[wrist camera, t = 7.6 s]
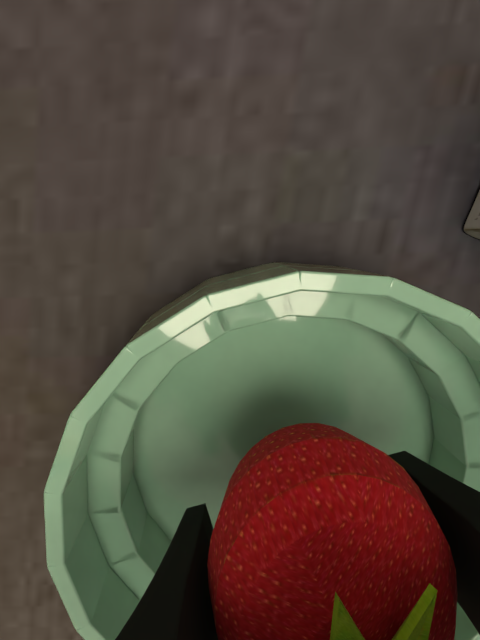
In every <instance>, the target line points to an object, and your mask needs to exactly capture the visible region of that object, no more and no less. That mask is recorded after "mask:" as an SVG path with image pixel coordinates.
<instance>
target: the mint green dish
mask: <svg viewBox="0 0 480 640" xmlns="http://www.w3.org/2000/svg"><path fill="white" fill-rule="evenodd" d="M299 423H321V424H325V425H329V426H334V427H337V428H339V429H341V430H343V431H345V432H347V433H349V434H351V435H353V436H355V437H357V438H358V439H360V440H362V441H364V442H366V443H368V444H370V445H371V446H373V447H375V448H377V449H379V450H381V451H383V452H384V453H386V454H387V455H390V454H394V453H398V452H401V451H407V452H408V453H410V454H412V455H414V456H415V457H417V458H419V459H421V460H422V461H424V462H426V463H428V464H429V465H431V466H433V467H435V468H436V469H438V470H440V471H442V472H443V473H445V474H447V475H449V476H451V477H452V478H454V479H456V480H458V481H460V482H462V483H464V484H466V485H467V486H469V487H471V488H473V489H475V490H477V491H479V492H480V319H479V318H478V317H477V316H476V315H475V314H474V313H473V312H471V311H470V310H469V309H466V308H464V307H462V306H459V305H457V304H455V303H452V302H450V301H448V300H445V299H443V298H441V297H438V296H436V295H434V294H431V293H429V292H427V291H424V290H422V289H420V288H417V287H415V286H413V285H410V284H408V283H406V282H403V281H401V280H399V279H396V278H394V277H390V276H384V275H379V274H374V273H369V272H364V271H359V270H354V269H349V268H344V267H339V266H326V265H312V264H298V263H283V262H275V263H274V262H272V263H268V264H264V265H260V266H256V267H252V268H248V269H245V270H241V271H237V272H233V273H229V274H225V275H221V276H217V277H213V278H210V279H208V280H206V281H204V282H203V283H201V284H199V285H198V286H196V287H195V288H193V289H192V290H190V291H188V292H187V293H185V294H184V295H182V296H181V297H179V298H177V299H176V300H174V301H173V302H171V303H170V304H168V305H166V306H165V307H163V308H162V309H160V310H159V311H157V312H155V313H154V314H153V315H152V316H150V318H149V319H148V320H147V321H146V322H145V323H144V325H143V326H142V327H141V328H140V329H139V330H138V332H137V333H136V334H135V335H134V336H133V337H132V339H131V340H130V341H129V342H128V343H127V344H126V345H125V347H124V348H123V349H122V350H121V352H120V353H119V354H118V355H117V356H116V358H115V359H114V360H113V361H112V363H111V364H110V365H109V366H108V368H107V369H106V370H105V371H104V373H103V374H102V375H101V376H100V378H99V379H98V380H97V381H96V382H95V384H94V385H93V386H92V387H91V389H90V390H89V391H88V392H87V394H86V395H85V396H84V397H83V399H82V400H81V401H80V402H79V404H78V405H77V406H76V407H75V408H74V410H73V411H72V412H71V415H70V416H69V418H68V421H67V424H66V427H65V430H64V433H63V436H62V438H61V441H60V444H59V447H58V450H57V453H56V456H55V459H54V462H53V465H52V468H51V471H50V474H49V477H48V480H47V483H46V486H45V488H44V514H45V536H46V557H47V566H48V570H49V572H50V575H51V577H52V579H53V581H54V584H55V586H56V588H57V590H58V592H59V595H60V597H61V599H62V601H63V604H64V606H65V608H66V610H67V612H68V615H69V617H70V619H71V621H72V624H73V626H74V628H75V629H76V630H77V632H78V633H79V634H80V636H81V637H82V638H83V639H84V640H115V639H116V637H117V636H118V635H119V633H120V632H121V630H122V629H123V627H124V625H125V624H126V622H127V621H128V619H129V618H130V616H131V615H132V613H133V611H134V610H135V608H136V607H137V605H138V603H139V602H140V600H141V598H142V596H143V595H144V593H145V591H146V589H147V587H148V586H149V584H150V582H151V580H152V579H153V577H154V575H155V573H156V571H157V569H158V567H159V565H160V563H161V561H162V559H163V557H164V555H165V553H166V551H167V549H168V547H169V545H170V543H171V541H172V539H173V537H174V535H175V532H176V530H177V528H178V526H179V524H180V521H181V519H182V517H183V514H184V512H185V511H186V509H187V508H189V507H193V506H197V505H200V504H204V503H206V507H207V510H208V513H209V516H210V519H211V523H212V526H213V529H214V526H215V523H216V520H217V517H218V514H219V511H220V508H221V505H222V502H223V499H224V496H225V493H226V490H227V487H228V484H229V480H230V478H231V476H232V475H233V473H234V471H235V469H236V467H237V465H238V464H239V462H240V461H241V460H242V458H243V457H244V456H245V455H246V454H247V452H248V451H249V450H250V449H251V448H252V447H253V446H254V445H255V444H257V443H258V442H259V441H260V440H262V439H263V438H264V437H265V436H267V435H269V434H271V433H273V432H275V431H277V430H279V429H281V428H283V427H287V426H291V425H295V424H299ZM454 640H480V635H479V633H478V631H477V630H476V628H475V627H474V625H473V624H472V622H471V621H470V619H469V618H468V616H467V615H466V613H465V612H464V611H463V609H462V608H461V606H460V605H459V604H458V602H457V612H456V628H455V636H454Z"/></svg>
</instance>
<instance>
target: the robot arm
mask: <svg viewBox="0 0 480 640" xmlns="http://www.w3.org/2000/svg"><path fill="white" fill-rule="evenodd" d="M388 456H390V457H391V458H392V459H393V460H395V461H396V462H397V463H398V464H399V465H401V466H402V467H403V468H404V469H405V470H406V472H407V473H408V474H409V475H410V477H411V478H412V479H413V480H414V482H415V483H416V484H417V485H418V487H419V489H420V491H421V493H422V494H423V496H424V498H425V500H426V502H427V504H428V505H429V507H430V509H431V511H432V513H433V515H434V516H435V518H436V520H437V522H438V524H439V526H440V528H441V530H442V532H443V534H444V536H445V538H446V540H447V542H448V544H449V546H450V549H451V553H452V557H453V561H454V565H455V568H456V580H457V602H458V604H459V605H460V606H461V608H462V609H463V611H464V612H465V613H466V615H467V616H468V618H469V619H470V621H471V622H472V624H473V625H474V627H475V628H476V630H477V631H478V633H479V635H480V492H479V491H477V490H475V489H473V488H471V487H469V486H467V485H466V484H464V483H462V482H460V481H458V480H456V479H454V478H452V477H451V476H449V475H447V474H445V473H443V472H442V471H440V470H438V469H436V468H435V467H433V466H431V465H429V464H428V463H426V462H424V461H422V460H421V459H419V458H417V457H415V456H414V455H412V454H410V453H408V452H407V451H401V452H398V453H394V454H390V455H388ZM212 532H213V526H212V523H211V519H210V516H209V513H208V510H207V507H206V503H204V504H200V505H197V506H193V507H189V508H187V509H186V511H185V512H184V514H183V517H182V519H181V521H180V524H179V526H178V528H177V530H176V532H175V535H174V537H173V539H172V541H171V543H170V545H169V547H168V549H167V551H166V553H165V555H164V557H163V559H162V561H161V563H160V565H159V567H158V569H157V571H156V573H155V575H154V577H153V579H152V580H151V582H150V584H149V586H148V587H147V589H146V591H145V593H144V595H143V596H142V598H141V600H140V602H139V603H138V605H137V607H136V608H135V610H134V611H133V613H132V615H131V616H130V618H129V619H128V621H127V622H126V624H125V625H124V627H123V629H122V630H121V632H120V633H119V635H118V636H117V637H116V639H115V640H218V636H217V632H216V627H215V621H214V615H213V610H212V604H211V598H210V592H209V584H208V566H207V562H208V554H209V547H210V539H211V536H212Z"/></svg>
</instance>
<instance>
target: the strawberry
mask: <svg viewBox="0 0 480 640" xmlns="http://www.w3.org/2000/svg"><path fill="white" fill-rule="evenodd" d="M207 566H208V584H209V592H210V598H211V604H212V610H213V615H214V621H215V627H216V632H217V636H218V640H454V636H455V628H456V612H457V580H456V568H455V565H454V561H453V557H452V553H451V549H450V546H449V544H448V542H447V540H446V538H445V536H444V534H443V532H442V530H441V528H440V526H439V524H438V522H437V520H436V518H435V516H434V515H433V513H432V511H431V509H430V507H429V505H428V504H427V502H426V500H425V498H424V496H423V494H422V493H421V491H420V489H419V487H418V485H417V484H416V483H415V482H414V480H413V479H412V478H411V477H410V475H409V474H408V473H407V472H406V470H405V469H404V468H403V467H402V466H401V465H399V464H398V463H397V462H396V461H395V460H393V459H392V458H391V457H390V456H388V455H387V454H386V453H384V452H383V451H381V450H379V449H377V448H375V447H373V446H371V445H370V444H368V443H366V442H364V441H362V440H360V439H358V438H357V437H355V436H353V435H351V434H349V433H347V432H345V431H343V430H341V429H339V428H337V427H334V426H329V425H325V424H321V423H299V424H295V425H291V426H287V427H283V428H281V429H279V430H277V431H275V432H273V433H271V434H269V435H267V436H265V437H264V438H263V439H262V440H260V441H259V442H258V443H257V444H255V445H254V446H253V447H252V448H251V449H250V450H249V451H248V452H247V454H246V455H245V456H244V457H243V458H242V460H241V461H240V462H239V464H238V465H237V467H236V469H235V471H234V473H233V475H232V476H231V478H230V480H229V484H228V487H227V490H226V493H225V496H224V499H223V502H222V505H221V508H220V511H219V514H218V517H217V520H216V523H215V526H214V529H213V532H212V536H211V539H210V547H209V554H208V562H207Z"/></svg>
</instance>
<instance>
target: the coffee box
mask: <svg viewBox="0 0 480 640" xmlns="http://www.w3.org/2000/svg"><path fill="white" fill-rule="evenodd" d="M464 231H465V233H466V234H468V235H470V236H472V237H475V238H477V239H480V190H479V193H478V195H477V197H476V200H475V202H474V204H473V207H472V209H471V211H470V214H469V216H468V218H467V220H466V223H465V225H464Z"/></svg>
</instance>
